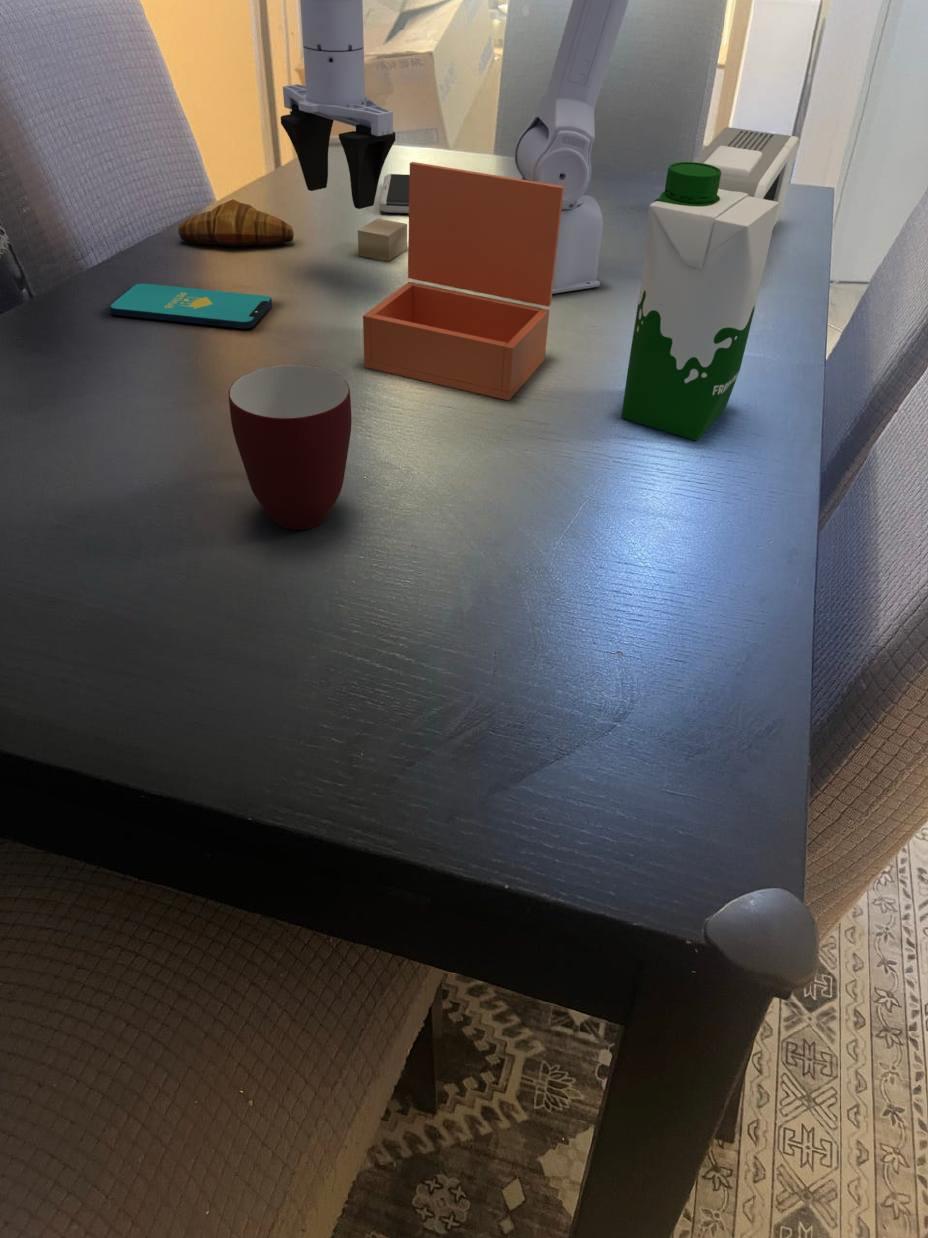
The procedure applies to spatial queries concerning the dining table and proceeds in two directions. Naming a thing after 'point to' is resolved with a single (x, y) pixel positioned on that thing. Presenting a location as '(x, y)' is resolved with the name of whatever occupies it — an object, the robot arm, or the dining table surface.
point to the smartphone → (192, 305)
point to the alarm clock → (753, 163)
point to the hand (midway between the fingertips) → (340, 197)
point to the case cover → (483, 232)
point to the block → (382, 239)
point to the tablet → (395, 194)
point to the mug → (293, 439)
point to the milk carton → (695, 300)
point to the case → (456, 339)
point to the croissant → (235, 227)
